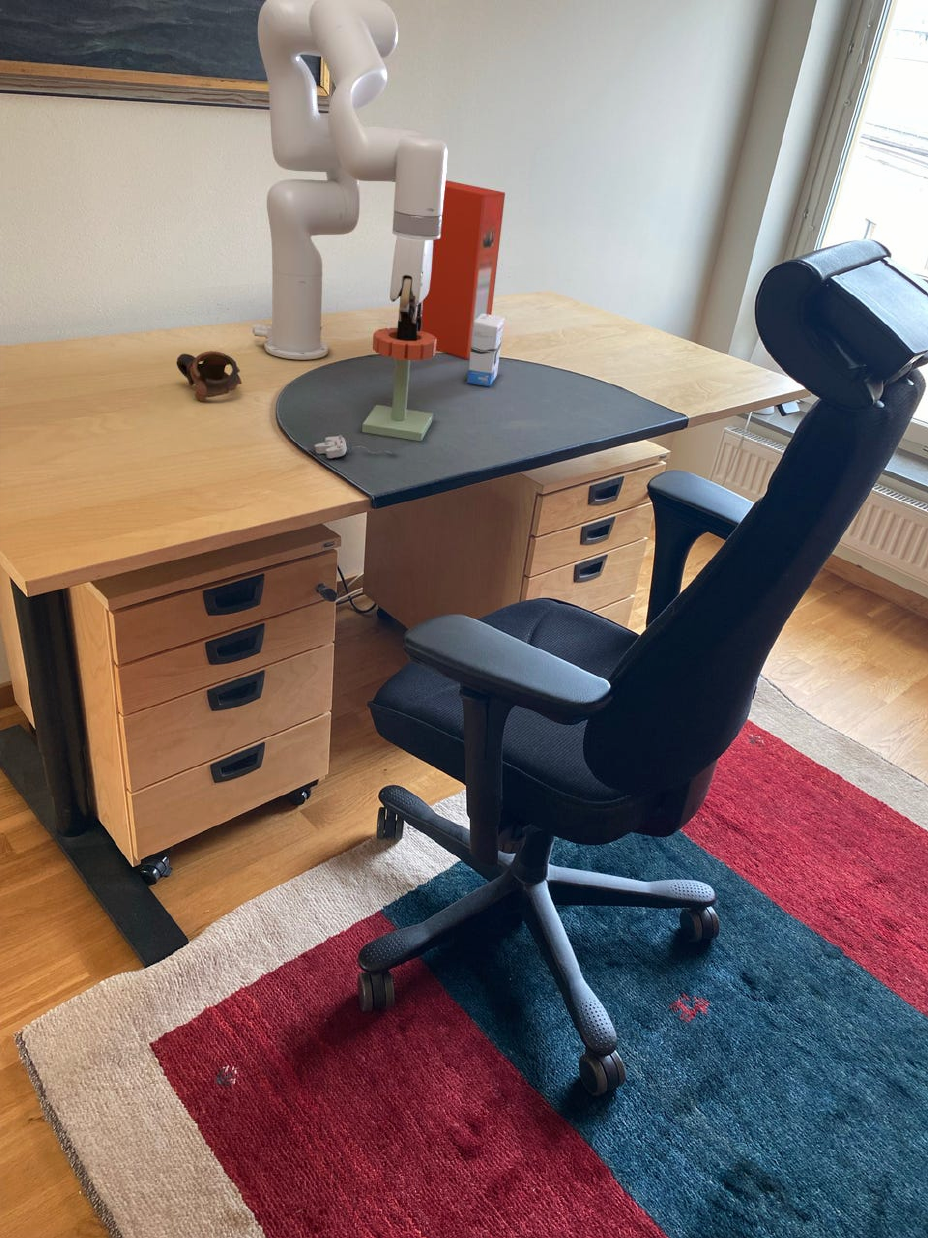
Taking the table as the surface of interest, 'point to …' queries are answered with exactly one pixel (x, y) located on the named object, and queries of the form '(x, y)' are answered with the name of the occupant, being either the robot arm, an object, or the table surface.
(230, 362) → the pottery mug
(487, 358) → the ink box
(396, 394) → the post
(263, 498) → the table surface
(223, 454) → the table surface
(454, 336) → the file binder
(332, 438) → the white power plug
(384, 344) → the ring
